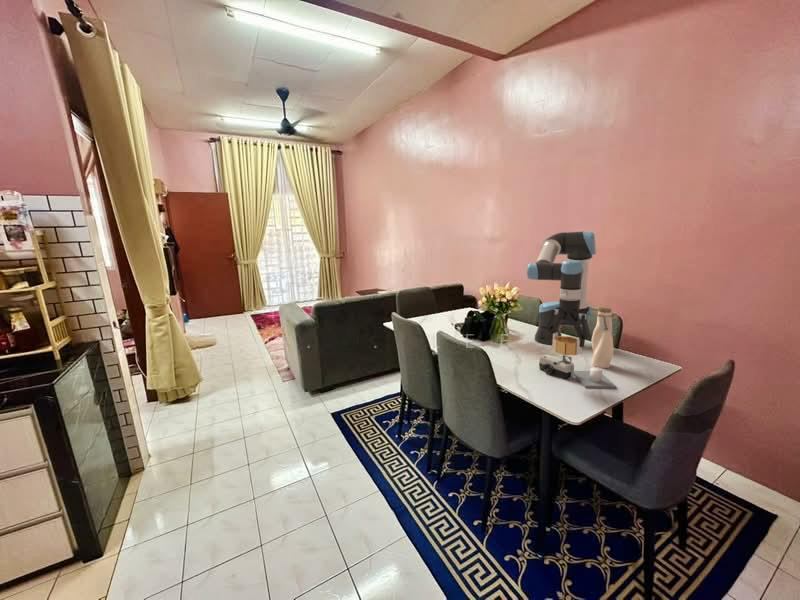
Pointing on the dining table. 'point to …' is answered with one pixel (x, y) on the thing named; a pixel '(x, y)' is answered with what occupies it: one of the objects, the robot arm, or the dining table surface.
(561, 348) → the ring
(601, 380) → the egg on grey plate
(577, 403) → the dining table surface
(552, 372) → the camera
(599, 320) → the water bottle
